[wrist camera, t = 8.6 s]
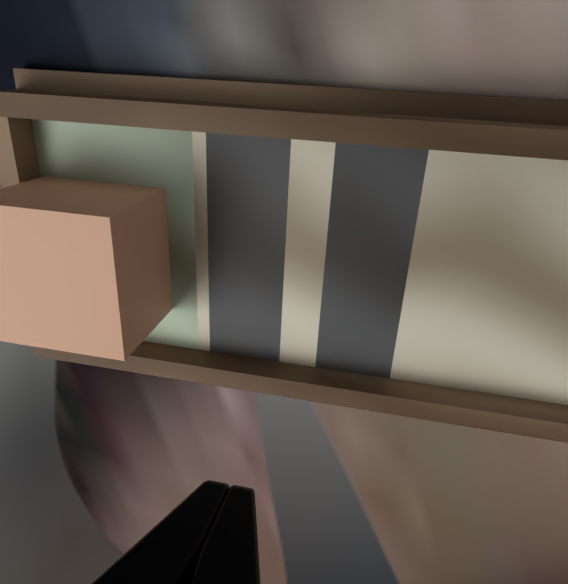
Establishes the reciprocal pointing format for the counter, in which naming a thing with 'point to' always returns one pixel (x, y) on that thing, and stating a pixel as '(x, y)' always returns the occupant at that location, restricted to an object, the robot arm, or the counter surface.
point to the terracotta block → (83, 265)
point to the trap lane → (333, 236)
